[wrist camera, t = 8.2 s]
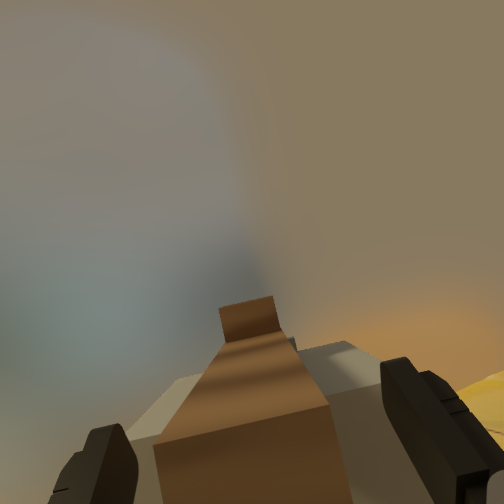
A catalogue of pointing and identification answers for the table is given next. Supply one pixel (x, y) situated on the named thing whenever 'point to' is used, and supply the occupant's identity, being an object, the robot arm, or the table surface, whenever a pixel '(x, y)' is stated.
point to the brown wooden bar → (252, 424)
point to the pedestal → (345, 421)
